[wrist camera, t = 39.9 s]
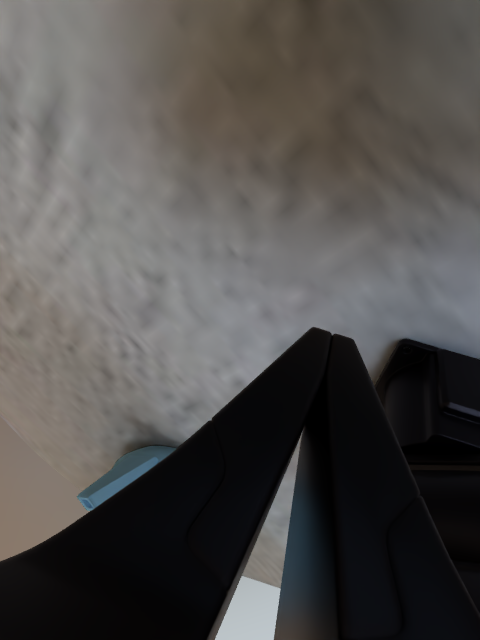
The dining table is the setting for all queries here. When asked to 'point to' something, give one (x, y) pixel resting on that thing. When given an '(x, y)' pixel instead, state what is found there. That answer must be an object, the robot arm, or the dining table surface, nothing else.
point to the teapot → (123, 474)
